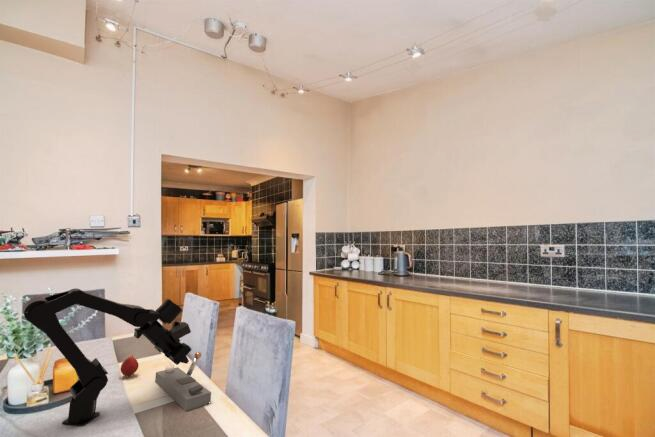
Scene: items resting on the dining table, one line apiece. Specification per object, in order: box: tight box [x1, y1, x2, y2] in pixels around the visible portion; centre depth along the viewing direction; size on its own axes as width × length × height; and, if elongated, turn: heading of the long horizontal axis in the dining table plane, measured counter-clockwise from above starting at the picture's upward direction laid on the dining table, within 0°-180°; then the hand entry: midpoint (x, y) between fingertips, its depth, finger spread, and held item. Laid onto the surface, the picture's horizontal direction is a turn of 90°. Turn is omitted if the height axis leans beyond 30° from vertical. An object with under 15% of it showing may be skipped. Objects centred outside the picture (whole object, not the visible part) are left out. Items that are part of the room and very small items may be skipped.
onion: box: [120, 354, 139, 378], centre depth 125 cm, size 6×6×8 cm
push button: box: [164, 364, 175, 373], centre depth 123 cm, size 3×3×2 cm
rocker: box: [189, 383, 204, 395], centre depth 107 cm, size 4×2×1 cm, turn 136°
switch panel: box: [154, 366, 212, 412], centre depth 115 cm, size 8×28×4 cm, turn 46°
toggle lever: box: [186, 351, 202, 377], centre depth 118 cm, size 2×2×8 cm
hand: (187, 362), depth 116 cm, fingers closed
